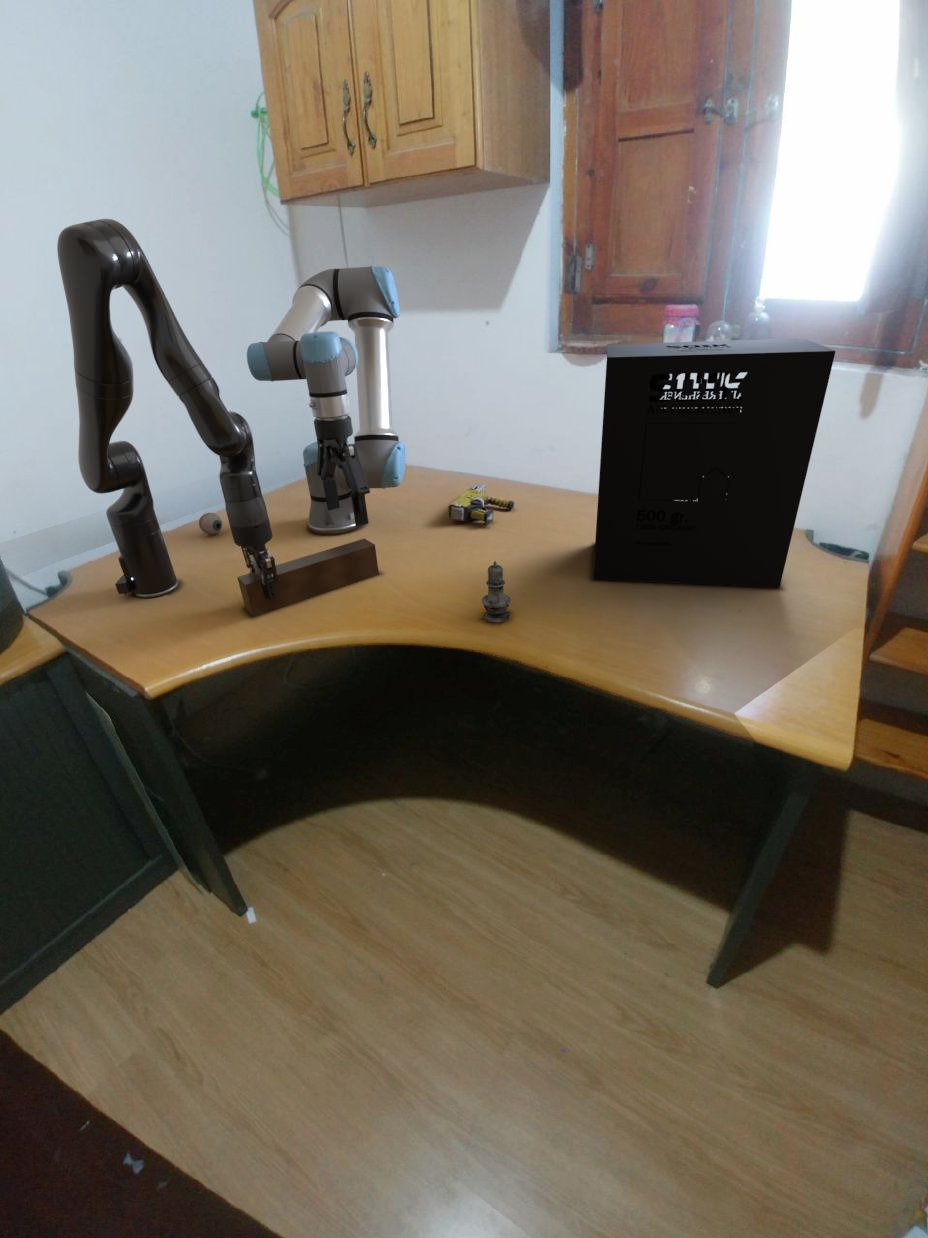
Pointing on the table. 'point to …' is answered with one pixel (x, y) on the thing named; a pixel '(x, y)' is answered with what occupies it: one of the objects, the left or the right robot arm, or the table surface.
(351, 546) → the plank
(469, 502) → the toy gun
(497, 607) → the grey tall turned piece
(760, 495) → the cardboard box
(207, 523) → the eyeball
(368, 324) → the right robot arm
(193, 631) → the table surface
